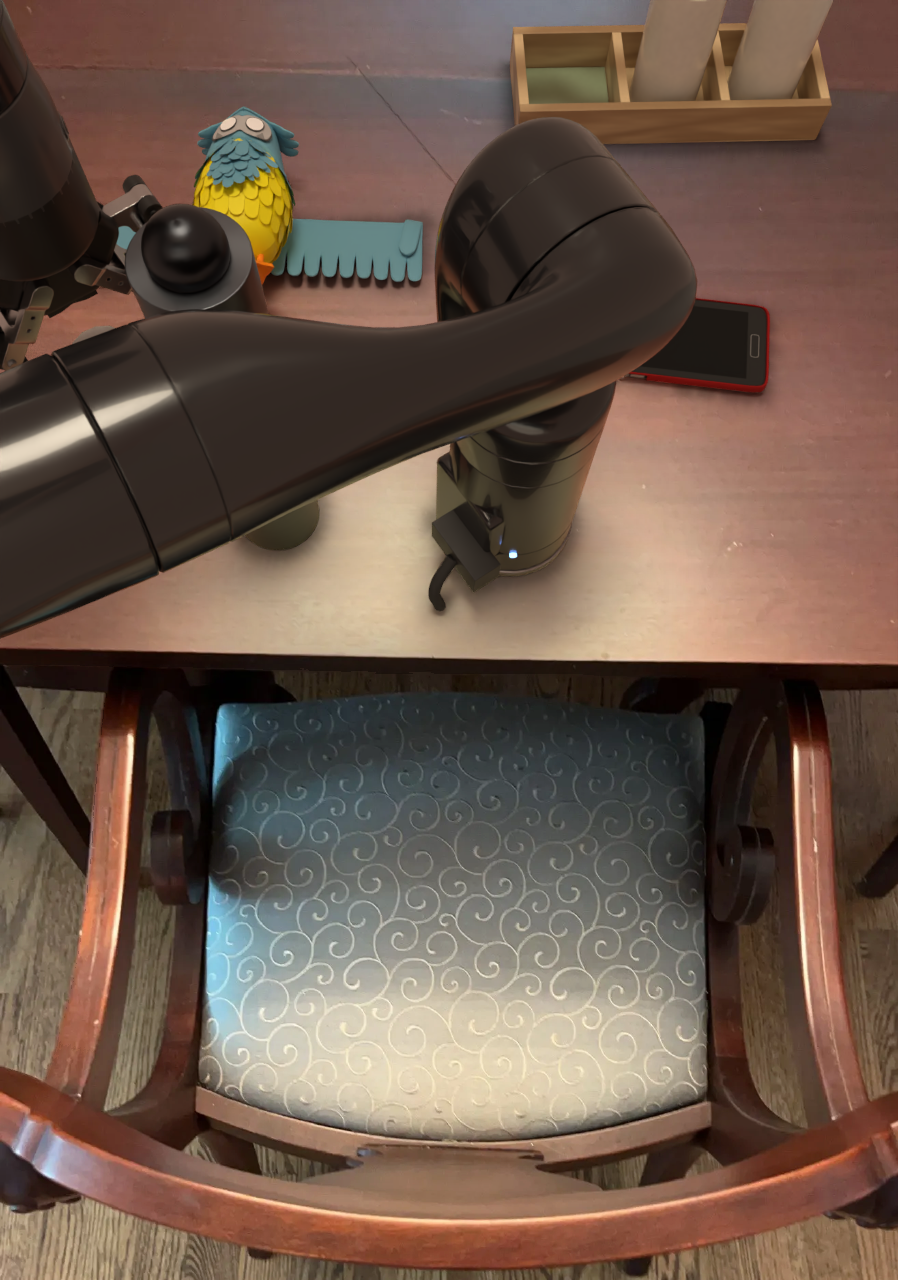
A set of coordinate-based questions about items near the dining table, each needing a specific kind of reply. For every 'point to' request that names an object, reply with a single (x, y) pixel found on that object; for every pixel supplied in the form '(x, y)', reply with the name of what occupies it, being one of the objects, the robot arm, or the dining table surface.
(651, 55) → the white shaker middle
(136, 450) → the robot arm
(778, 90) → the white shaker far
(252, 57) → the dining table surface
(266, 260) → the owl figurine
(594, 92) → the spice rack
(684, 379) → the cell phone
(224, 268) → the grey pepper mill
